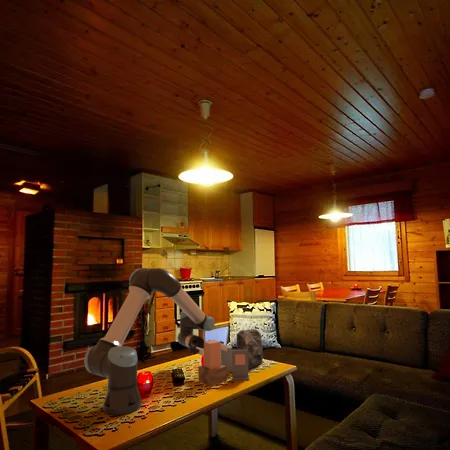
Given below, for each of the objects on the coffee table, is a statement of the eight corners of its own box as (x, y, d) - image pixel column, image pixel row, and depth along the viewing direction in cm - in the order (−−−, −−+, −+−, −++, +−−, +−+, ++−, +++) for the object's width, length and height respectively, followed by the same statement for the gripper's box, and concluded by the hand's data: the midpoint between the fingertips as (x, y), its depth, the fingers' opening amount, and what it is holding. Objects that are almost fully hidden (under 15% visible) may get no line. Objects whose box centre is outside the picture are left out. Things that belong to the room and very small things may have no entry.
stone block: (244, 371, 185) (243, 333, 187) (233, 367, 191) (232, 330, 193) (267, 364, 196) (266, 328, 198) (256, 360, 203) (255, 326, 205)
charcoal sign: (233, 380, 170) (232, 351, 172) (232, 378, 174) (231, 349, 176) (249, 380, 171) (248, 351, 172) (248, 377, 175) (247, 349, 176)
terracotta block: (204, 366, 173) (203, 341, 174) (214, 363, 176) (213, 339, 178) (210, 369, 168) (210, 343, 169) (220, 366, 171) (220, 341, 173)
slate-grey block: (221, 371, 186) (220, 348, 187) (220, 367, 192) (220, 345, 193) (232, 370, 186) (231, 347, 187) (231, 367, 192) (231, 345, 193)
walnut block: (198, 381, 172) (198, 366, 172) (213, 376, 179) (213, 362, 179) (211, 386, 165) (211, 371, 165) (226, 380, 171) (226, 366, 172)
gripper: (214, 345, 195) (235, 353, 177) (174, 353, 181) (192, 362, 164) (214, 332, 196) (235, 338, 178) (173, 338, 182) (192, 346, 164)
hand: (215, 350), depth 171 cm, fingers open, 13 cm apart
